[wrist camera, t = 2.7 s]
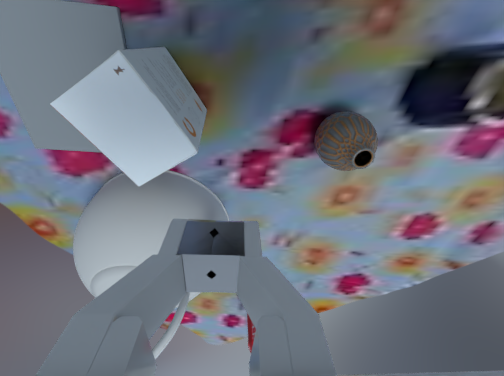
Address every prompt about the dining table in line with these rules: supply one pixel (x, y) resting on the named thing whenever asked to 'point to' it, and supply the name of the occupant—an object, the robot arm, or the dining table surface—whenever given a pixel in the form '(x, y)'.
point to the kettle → (137, 230)
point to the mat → (53, 60)
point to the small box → (137, 112)
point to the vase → (346, 141)
